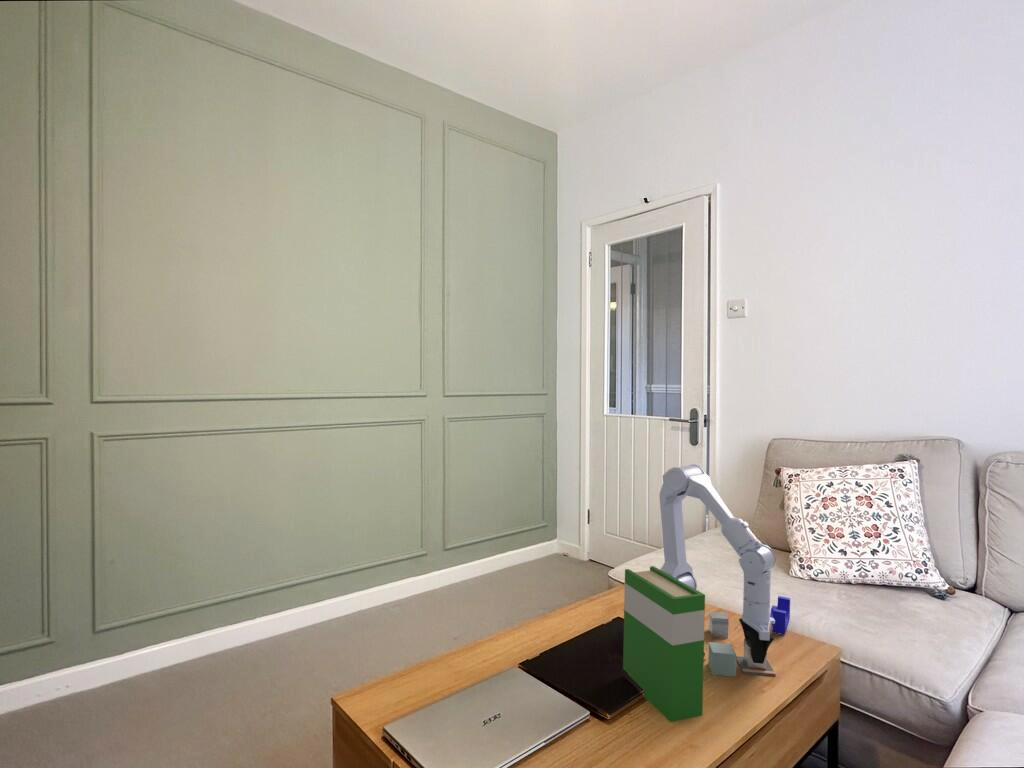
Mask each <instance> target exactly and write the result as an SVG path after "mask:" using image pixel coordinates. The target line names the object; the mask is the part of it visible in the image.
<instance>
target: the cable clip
mask: <svg viewBox="0 0 1024 768" xmlns="http://www.w3.org/2000/svg"><path fill="white" fill-rule="evenodd" d="M770 617H772V618H774V620H775V624H772V629H771V630H772V633H773V632H776V633H775V634H777V633H781V634H785V635H786V633H787V629H788V626H789V622H790V620H791V597H786V596H781V595H778V596H777V605H774V604H773V605H772V606H771V607H770ZM785 632H786V633H785ZM781 634H780V635H781Z"/></svg>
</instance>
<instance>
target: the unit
mask: <svg viewBox="0 0 1024 768" xmlns="http://www.w3.org/2000/svg"><path fill="white" fill-rule="evenodd" d="M736 656H737V653H736V651H735V649H734V647H733V645H732V643H721V642H710V641H708V658H707V659H708V660H707V664H708V667H709V669H710V672H711V675H713V676H714V675H715V676H725V677H737V660H736Z"/></svg>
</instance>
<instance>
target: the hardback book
mask: <svg viewBox="0 0 1024 768" xmlns="http://www.w3.org/2000/svg"><path fill="white" fill-rule="evenodd" d="M660 569H661V568H660ZM660 569H659V568H657V567H656V566H653V565H651V566H649V570H643V571H635V572H634V571H632V570H631V569H629V568H625V569H624V598H623V601H624V602H623V603H624V605H623V609H624V610H623V648H622V649H623V650H622V651H623V653H622V655H623V657H622V670H623V669H624V670H625V671H626V672H627V673H628V675H629V676H630V677H631V678H632V679H633V680H634V681H635V682H636V683H637V684H638V685H639V686H640V687H641V688H642V689H643V690H644V696H643V698H645V699H646V701H647V702H649V704H651V705H652V706H653V707H654V708H655V709H656V710H657V711H658V712H659V713H660V714H662V716H663V717H665V718H666V720H667V721H669V722H670V723H675V722H679V721H683V720H688V719H691V718H696V717H700V716H703V703H704V701H703V700H704V699H703V697H704V696H703V695H704V660H705V657H704V656H705V652H704V651H705V619H706V618H705V615H706V614H705V613H706V611H705V610H706V608H705V607H706V594H704V593H702V592H701V591H699V590H697V589H694V588H692V587H690V586H688V585H687V584H685V583H683V582H681V581H679V580H678V579H676V578H674V577H672V576H670V575H669V574H667V573H665V572H663V571H661V570H660Z"/></svg>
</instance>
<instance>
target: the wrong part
mask: <svg viewBox="0 0 1024 768" xmlns="http://www.w3.org/2000/svg"><path fill="white" fill-rule="evenodd" d="M708 613H709V614H708V630H709V631H708V632H709V633H710V636H711V637H712V638H719V637H723V638H722V639H729V624H730V623H729V617H728V616H727V613H726V612H723V611H722V612H721V611H708Z"/></svg>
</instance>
